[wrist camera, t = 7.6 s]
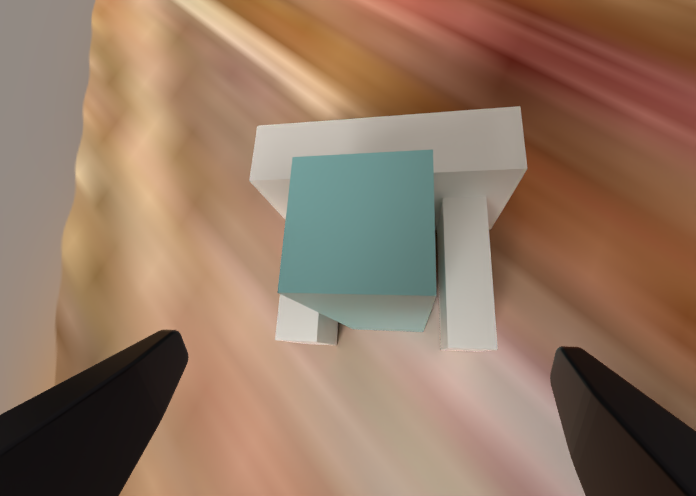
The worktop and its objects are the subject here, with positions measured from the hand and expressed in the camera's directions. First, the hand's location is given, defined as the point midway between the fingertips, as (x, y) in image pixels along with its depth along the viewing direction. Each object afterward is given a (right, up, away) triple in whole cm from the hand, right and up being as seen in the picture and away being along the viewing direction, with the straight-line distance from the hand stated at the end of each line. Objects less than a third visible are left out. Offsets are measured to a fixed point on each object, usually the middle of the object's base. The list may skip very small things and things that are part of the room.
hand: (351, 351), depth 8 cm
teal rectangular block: (+2, 0, +12) cm, 12 cm away
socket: (+2, +2, +13) cm, 13 cm away
